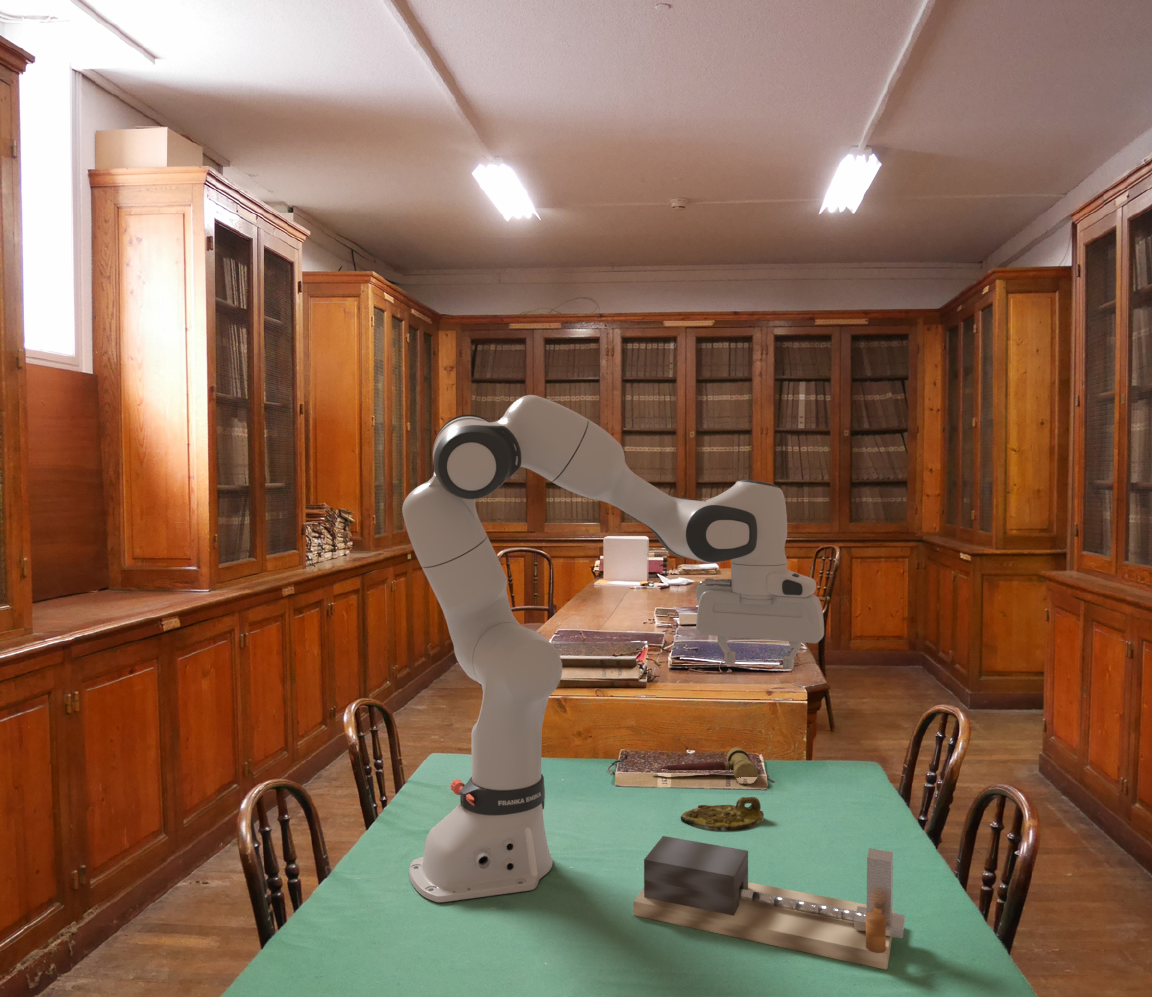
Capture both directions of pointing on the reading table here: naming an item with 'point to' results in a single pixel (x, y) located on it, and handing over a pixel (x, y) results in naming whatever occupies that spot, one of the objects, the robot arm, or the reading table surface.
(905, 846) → the reading table surface
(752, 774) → the gavel
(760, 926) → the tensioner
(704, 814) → the seal
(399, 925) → the reading table surface
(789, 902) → the chain end
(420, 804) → the reading table surface
